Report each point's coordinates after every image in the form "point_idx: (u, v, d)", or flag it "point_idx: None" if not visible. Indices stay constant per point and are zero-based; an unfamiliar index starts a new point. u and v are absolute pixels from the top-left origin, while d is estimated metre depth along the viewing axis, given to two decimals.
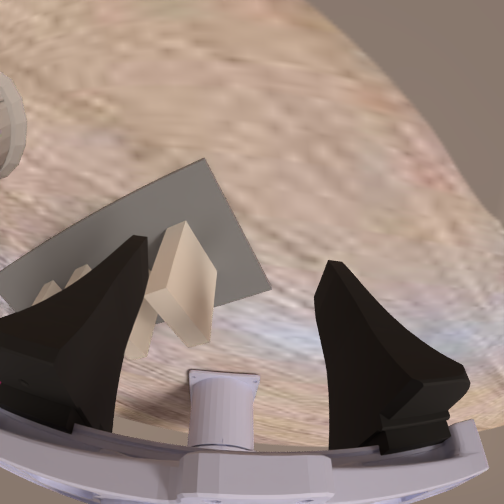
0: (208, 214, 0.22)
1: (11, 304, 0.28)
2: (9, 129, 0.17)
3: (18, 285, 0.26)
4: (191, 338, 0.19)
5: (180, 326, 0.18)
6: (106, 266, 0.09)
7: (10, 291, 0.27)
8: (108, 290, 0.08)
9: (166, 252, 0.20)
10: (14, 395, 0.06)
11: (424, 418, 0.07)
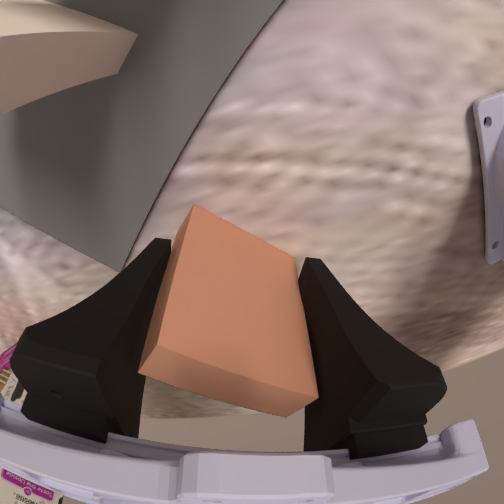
0: None
1: None
2: None
3: None
4: None
5: None
6: (133, 270, 0.09)
7: None
8: (139, 295, 0.08)
9: None
10: (43, 405, 0.06)
11: (398, 422, 0.07)
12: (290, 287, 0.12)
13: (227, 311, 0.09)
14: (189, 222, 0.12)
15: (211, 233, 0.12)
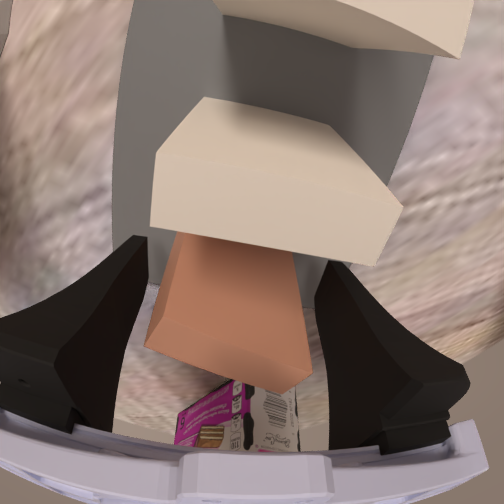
0: None
1: None
2: None
3: None
4: None
5: None
6: (106, 266, 0.09)
7: (158, 248, 0.15)
8: (108, 290, 0.08)
9: None
10: (14, 395, 0.06)
11: (424, 418, 0.07)
12: (287, 272, 0.13)
13: (228, 290, 0.10)
14: None
15: None
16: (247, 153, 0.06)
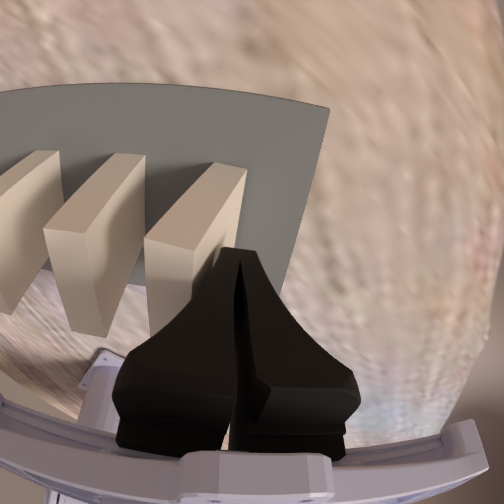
0: (282, 176, 0.15)
1: None
2: None
3: None
4: None
5: (165, 314, 0.11)
6: (217, 281, 0.10)
7: None
8: (233, 307, 0.09)
9: (207, 193, 0.12)
10: (142, 432, 0.06)
11: (305, 429, 0.06)
12: None
13: None
14: None
15: None
16: None
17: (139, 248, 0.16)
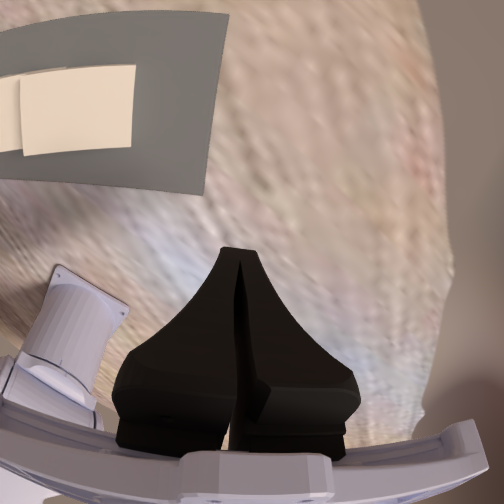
0: (193, 70, 0.16)
1: None
2: None
3: None
4: None
5: None
6: (217, 281, 0.10)
7: None
8: (233, 307, 0.09)
9: (80, 67, 0.14)
10: (142, 431, 0.06)
11: (305, 429, 0.06)
12: None
13: None
14: None
15: None
16: None
17: None
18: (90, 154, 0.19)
